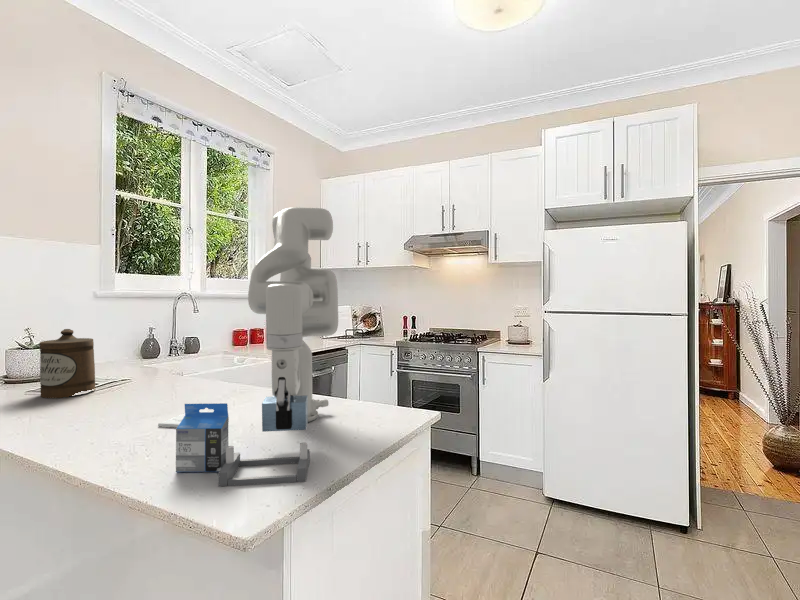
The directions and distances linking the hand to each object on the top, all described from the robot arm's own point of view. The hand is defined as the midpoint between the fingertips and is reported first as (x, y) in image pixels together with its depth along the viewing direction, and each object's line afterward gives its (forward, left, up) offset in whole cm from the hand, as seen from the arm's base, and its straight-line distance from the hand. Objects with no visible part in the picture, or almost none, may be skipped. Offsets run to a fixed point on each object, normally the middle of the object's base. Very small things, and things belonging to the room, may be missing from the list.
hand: (285, 423), depth 95 cm
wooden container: (+34, -97, -6) cm, 103 cm away
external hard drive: (+11, -36, -6) cm, 39 cm away
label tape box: (+17, 0, -6) cm, 18 cm away
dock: (+8, +10, -6) cm, 14 cm away
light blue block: (0, 0, -1) cm, 1 cm away
